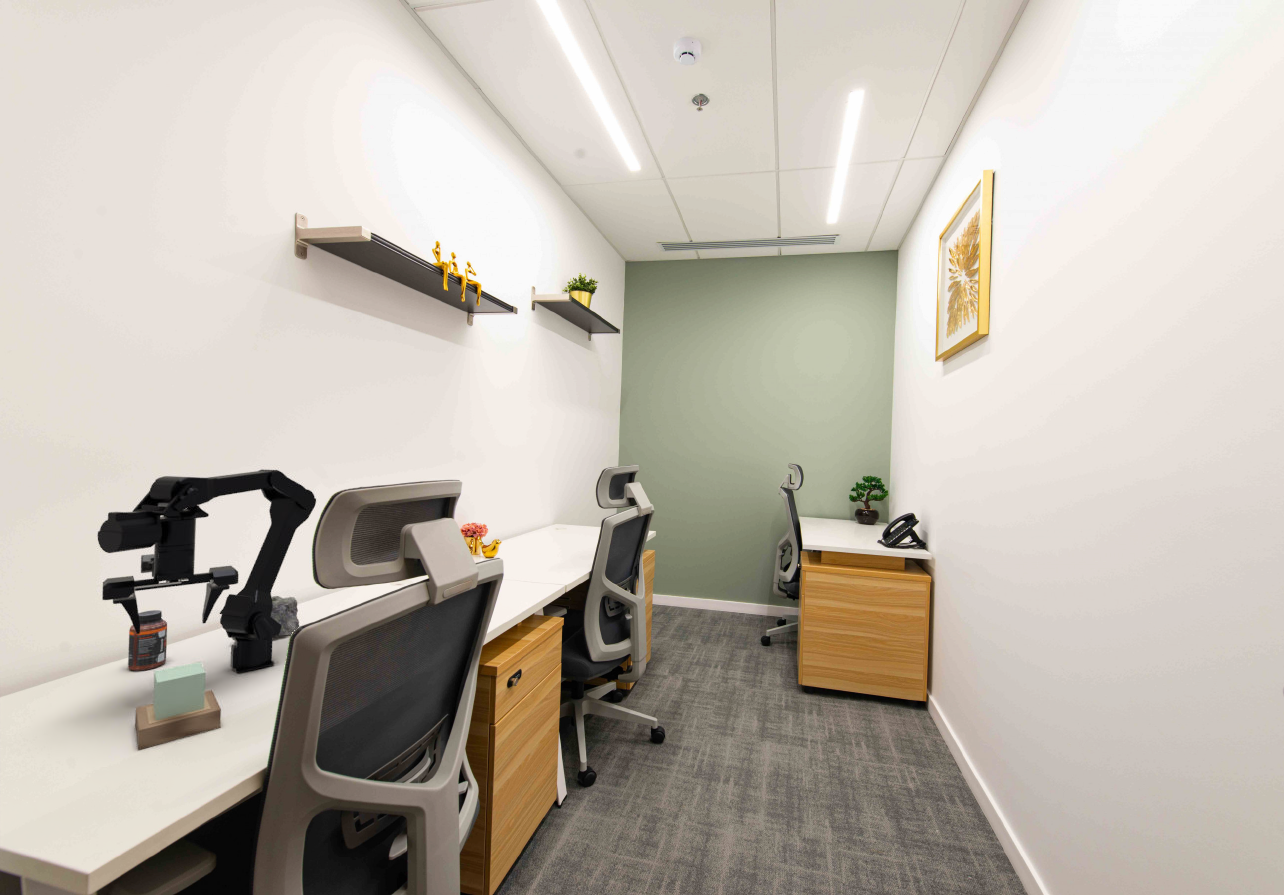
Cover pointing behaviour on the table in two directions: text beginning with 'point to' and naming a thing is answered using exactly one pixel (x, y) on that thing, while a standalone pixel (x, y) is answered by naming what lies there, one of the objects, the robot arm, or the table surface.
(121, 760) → the table surface
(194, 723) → the walnut base
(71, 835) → the table surface
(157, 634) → the supplement bottle
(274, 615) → the mineral rock
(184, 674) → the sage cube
